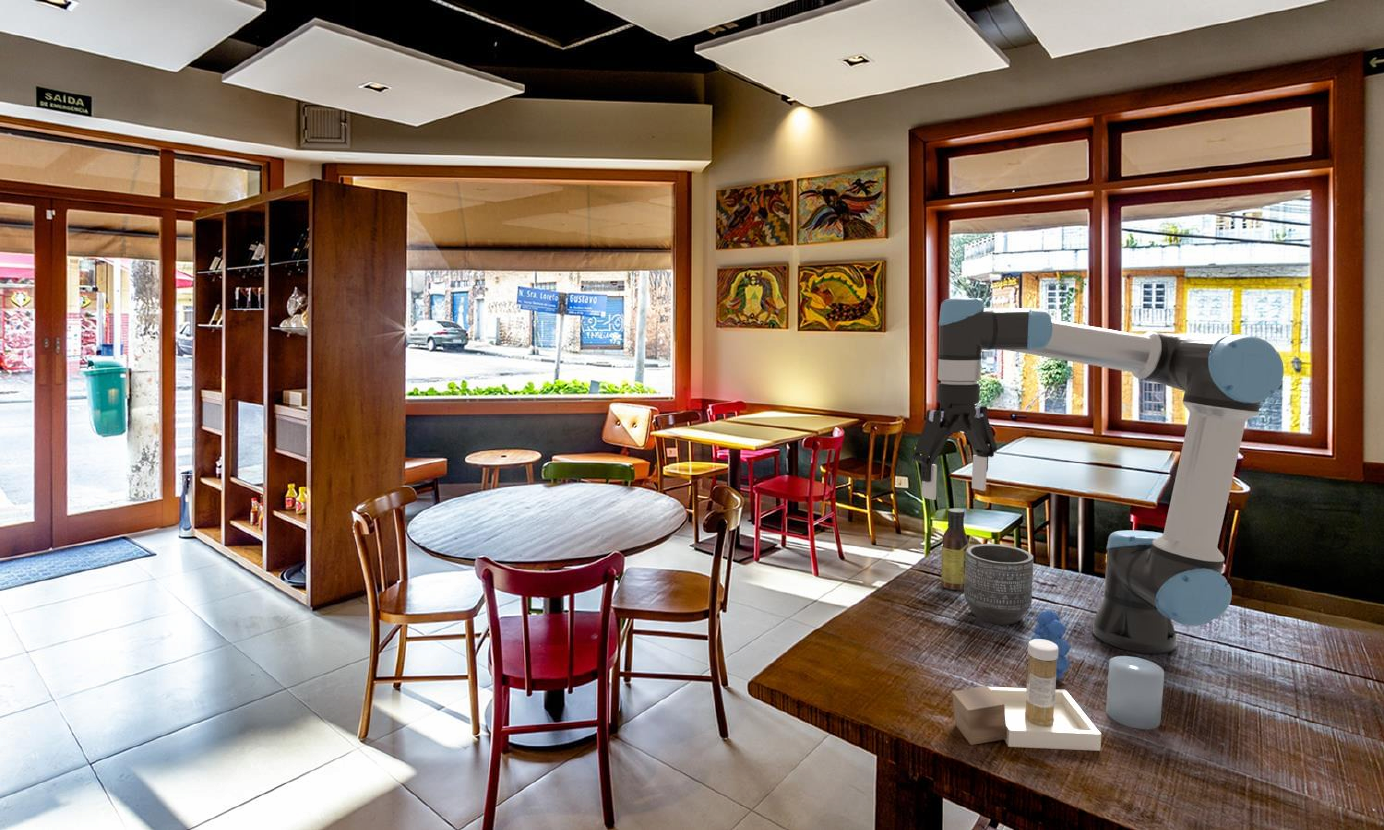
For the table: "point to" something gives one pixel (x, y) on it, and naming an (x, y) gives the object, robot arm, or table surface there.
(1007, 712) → the tray
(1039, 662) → the sprinkles bottle
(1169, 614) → the robot arm
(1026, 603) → the planter
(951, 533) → the sauce bottle
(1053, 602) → the table surface
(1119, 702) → the pale grey rounded cylinder
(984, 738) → the walnut block
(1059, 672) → the grapes
